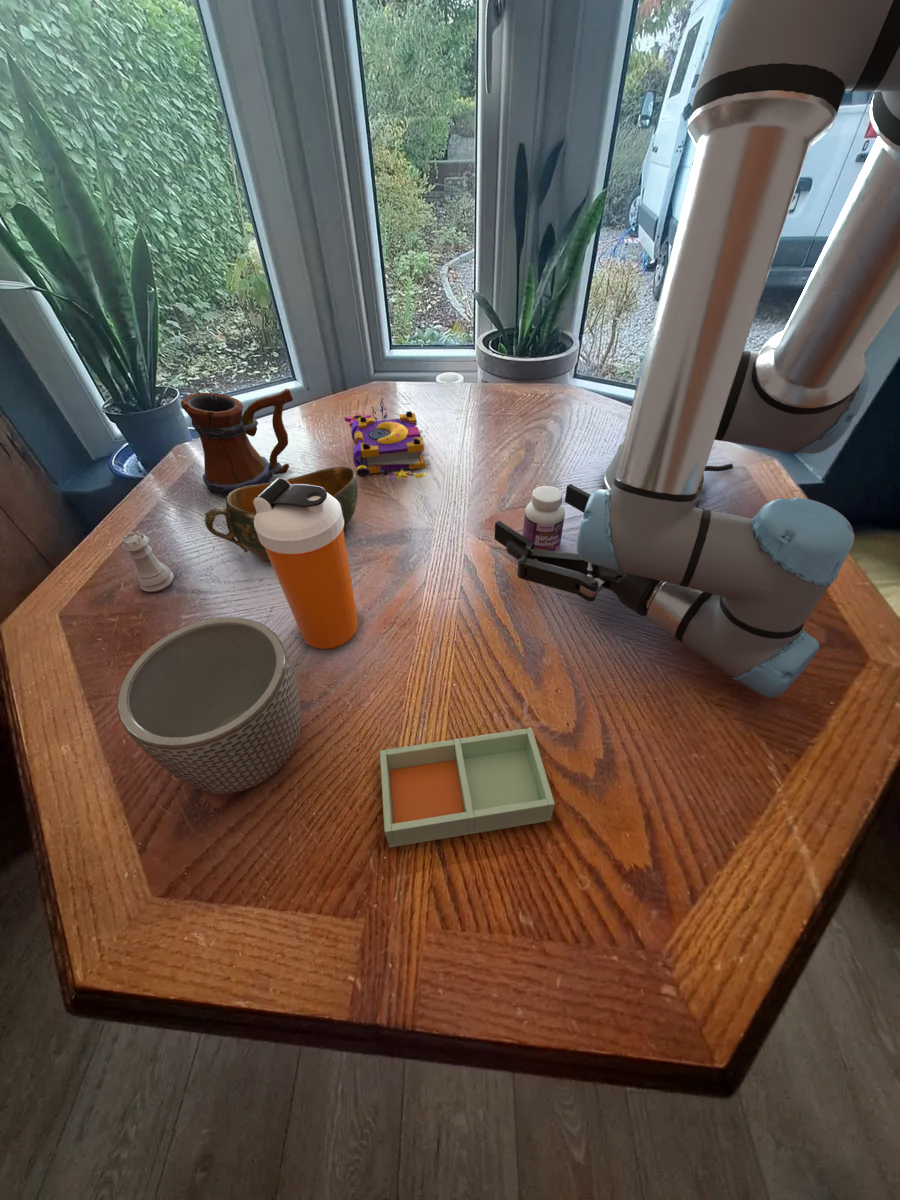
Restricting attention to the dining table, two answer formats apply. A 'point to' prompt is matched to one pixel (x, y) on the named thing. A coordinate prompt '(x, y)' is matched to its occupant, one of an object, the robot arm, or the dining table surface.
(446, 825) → the tray
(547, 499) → the pill bottle
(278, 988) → the dining table surface
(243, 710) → the planter
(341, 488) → the creamer
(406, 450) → the book
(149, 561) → the rook chess piece
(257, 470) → the mug
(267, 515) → the shaker bottle
